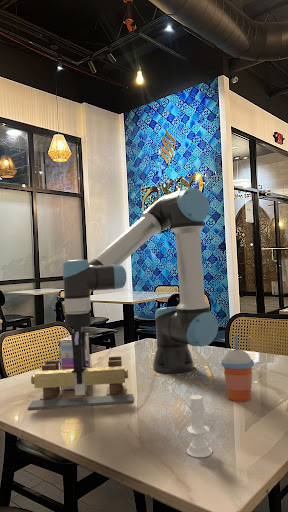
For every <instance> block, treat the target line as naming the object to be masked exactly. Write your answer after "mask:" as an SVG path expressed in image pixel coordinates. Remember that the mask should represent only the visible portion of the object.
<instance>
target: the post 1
mask: <svg viewBox="0 0 288 512" xmlns="http://www.w3.org/2000/svg"><path fill="white" fill-rule="evenodd" d="M44 363H45V364H41V371H50V370H60V359H52V360H45V361H44ZM64 391H65V390H61V387H49V388H42V394H41V396H40V397H39V400H50V399H62V396H64V395H63V394H64Z"/></svg>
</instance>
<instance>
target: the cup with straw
mask: <svg viewBox="0 0 288 512" xmlns="http://www.w3.org/2000/svg"><path fill="white" fill-rule="evenodd" d="M238 337H239V336H238V334H235V335H234V349H232V350H230V351H228V352H227V353H226V354H225V355H224V357H223V359H222V360H221V366H222V367H223V368H224V369H223V370H224V371H223V374H224V381H225V386H226V389H227V396H228V399H229V400H231V401H233V402H246V401H249V400H251V398H252V397H251V396H252V393H251V392H252V387H253V386H252V385H253V371H252V369H253V368H252V367H254V366H255V362H254V359H252V357H251V356H250V355H249V353H247V352H246V351H244V350H243V349H239V338H238Z"/></svg>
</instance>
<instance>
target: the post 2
mask: <svg viewBox="0 0 288 512" xmlns="http://www.w3.org/2000/svg"><path fill="white" fill-rule="evenodd" d="M122 362H123V361H122V355H118V356H115V355H114V356H108V360H107V363H108V365H107V367H118V366H123V365H122V364H123V363H122ZM108 385H109V386H106V395H105V396H110V395H124V394H127V386H126V385H124V383H115V384H108Z"/></svg>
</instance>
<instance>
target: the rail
mask: <svg viewBox="0 0 288 512" xmlns="http://www.w3.org/2000/svg"><path fill="white" fill-rule="evenodd" d="M72 371H73V369H67V370H60V369H59V370H50V371H42V370H37V371H36V372H35V373H33V375H31V378H30V379H31V380H30V381H31V382H30V383H31V385H34V389H43V388H49V387H60V388H61V387H65V386H75V373H72ZM84 376H85V385H86V386H95V385H97V386H98V385H109V384H115V383H123V384H125V383H126V379H129V370H128V369H125V366H124V365H122V366H118V367H108V366H106V367H103V366H102V367H101V366H100V367H90V368H84Z"/></svg>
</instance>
